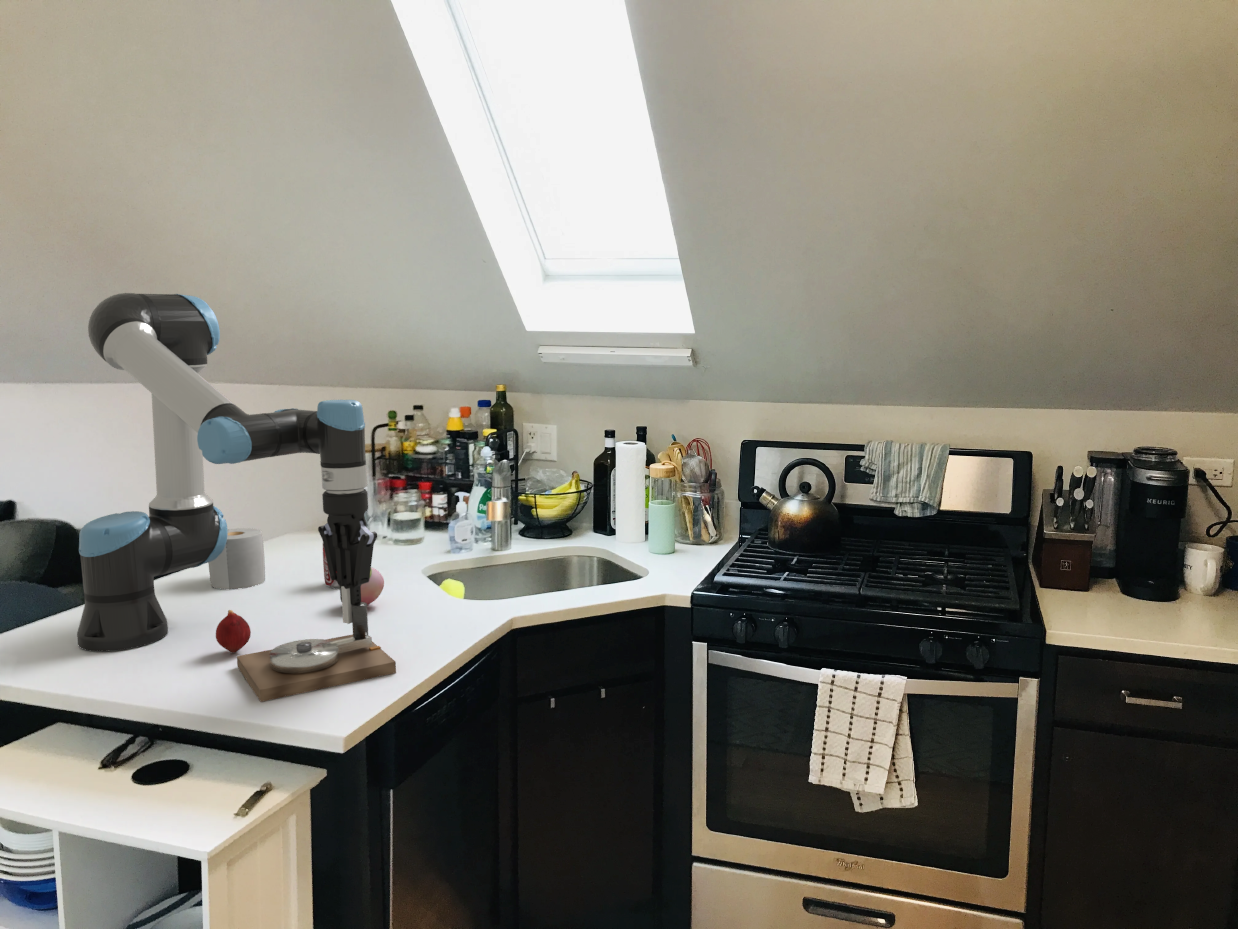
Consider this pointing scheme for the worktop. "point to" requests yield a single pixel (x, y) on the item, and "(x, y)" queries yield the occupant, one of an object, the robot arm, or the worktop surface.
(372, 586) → the decorative fruit
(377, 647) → the wooden cutting board
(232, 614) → the onion
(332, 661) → the dial
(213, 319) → the robot arm
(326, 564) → the soda can
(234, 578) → the toilet paper roll
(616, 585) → the worktop surface
